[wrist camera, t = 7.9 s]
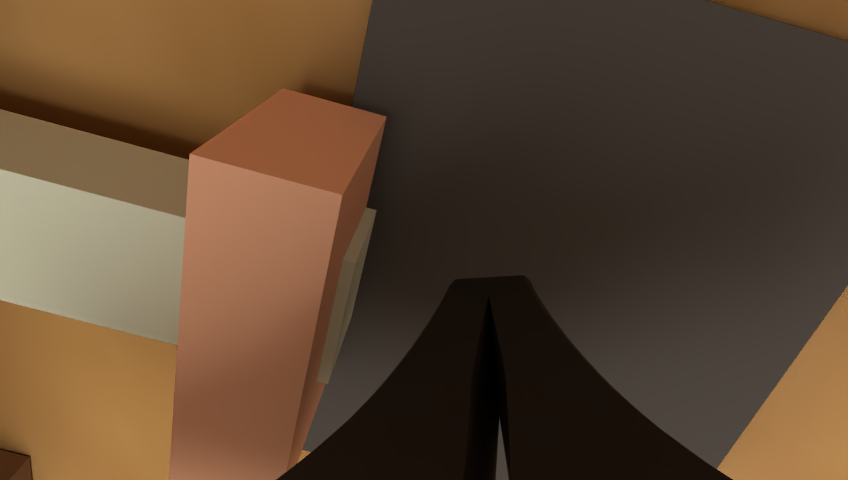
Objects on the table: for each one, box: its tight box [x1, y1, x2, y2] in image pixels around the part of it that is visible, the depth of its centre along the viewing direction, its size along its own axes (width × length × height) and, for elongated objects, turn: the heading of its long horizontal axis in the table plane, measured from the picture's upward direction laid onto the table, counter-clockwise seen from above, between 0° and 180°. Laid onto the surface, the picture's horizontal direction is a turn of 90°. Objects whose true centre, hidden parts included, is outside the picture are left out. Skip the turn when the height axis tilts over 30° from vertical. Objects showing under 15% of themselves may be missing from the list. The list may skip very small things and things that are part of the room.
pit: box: [302, 0, 848, 480], centre depth 12 cm, size 10×12×1 cm
